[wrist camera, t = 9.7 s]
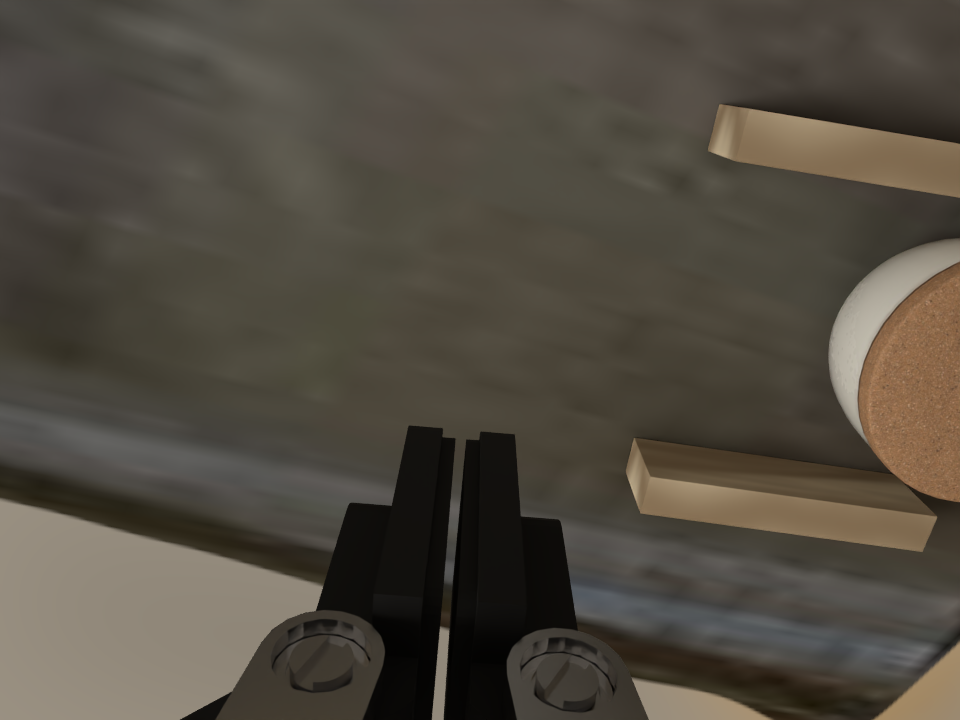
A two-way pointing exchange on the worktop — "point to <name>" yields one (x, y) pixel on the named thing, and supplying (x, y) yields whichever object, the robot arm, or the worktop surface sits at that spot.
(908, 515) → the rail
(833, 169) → the bar
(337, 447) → the worktop surface
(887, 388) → the lidded jar
